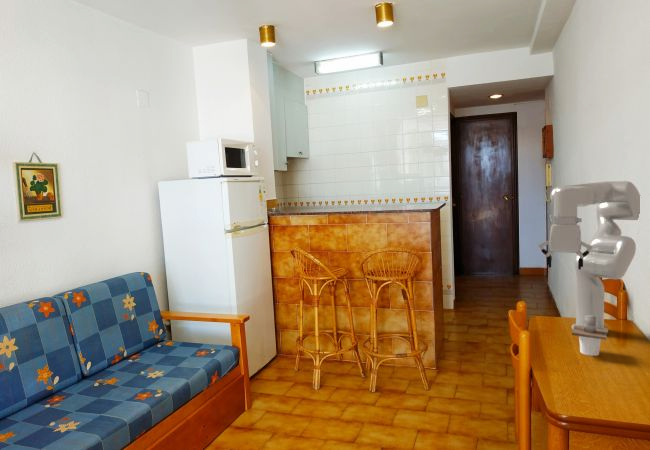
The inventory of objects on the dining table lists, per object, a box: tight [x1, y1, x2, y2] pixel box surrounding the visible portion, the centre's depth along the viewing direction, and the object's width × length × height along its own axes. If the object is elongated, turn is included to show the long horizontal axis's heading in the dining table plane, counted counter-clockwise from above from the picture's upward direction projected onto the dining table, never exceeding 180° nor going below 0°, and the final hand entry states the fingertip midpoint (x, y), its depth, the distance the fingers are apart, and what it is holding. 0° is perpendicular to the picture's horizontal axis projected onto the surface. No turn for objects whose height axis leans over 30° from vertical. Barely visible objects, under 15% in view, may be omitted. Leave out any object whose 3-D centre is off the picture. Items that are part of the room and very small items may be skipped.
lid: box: [571, 315, 608, 341], centre depth 158 cm, size 10×10×6 cm
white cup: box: [578, 336, 602, 357], centre depth 158 cm, size 7×7×7 cm
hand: (564, 267), depth 167 cm, fingers open, 9 cm apart
